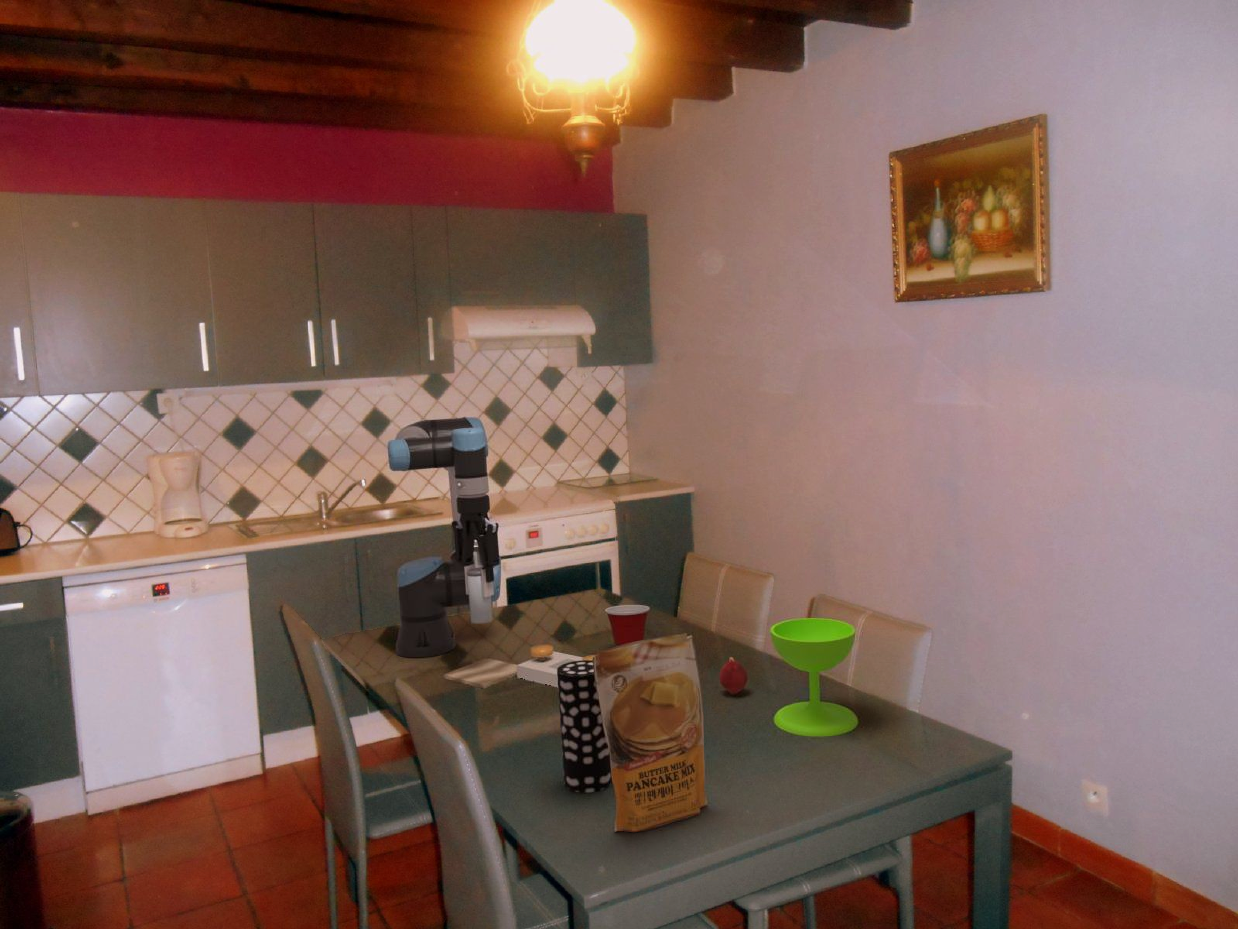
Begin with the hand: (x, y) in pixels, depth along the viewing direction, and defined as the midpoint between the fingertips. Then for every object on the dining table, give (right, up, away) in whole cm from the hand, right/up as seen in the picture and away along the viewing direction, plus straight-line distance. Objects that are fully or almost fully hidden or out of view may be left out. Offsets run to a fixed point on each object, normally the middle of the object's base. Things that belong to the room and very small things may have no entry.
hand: (479, 594), depth 217 cm
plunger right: (+27, -17, -9) cm, 33 cm away
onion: (+57, -18, -20) cm, 63 cm away
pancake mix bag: (+39, -25, -71) cm, 85 cm away
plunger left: (+15, -17, +1) cm, 22 cm away
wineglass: (+70, -19, -36) cm, 82 cm away
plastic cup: (+35, -16, +10) cm, 40 cm away
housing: (+21, -19, -4) cm, 28 cm away
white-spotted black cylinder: (+27, -24, -58) cm, 68 cm away
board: (+1, -19, +2) cm, 19 cm away
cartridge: (0, -6, +1) cm, 6 cm away
